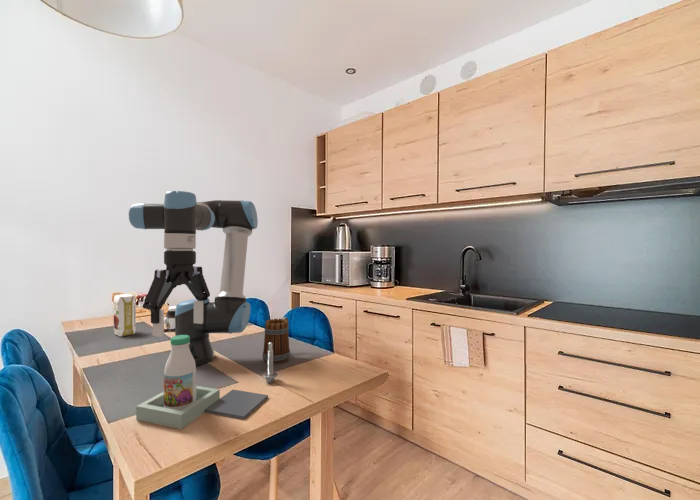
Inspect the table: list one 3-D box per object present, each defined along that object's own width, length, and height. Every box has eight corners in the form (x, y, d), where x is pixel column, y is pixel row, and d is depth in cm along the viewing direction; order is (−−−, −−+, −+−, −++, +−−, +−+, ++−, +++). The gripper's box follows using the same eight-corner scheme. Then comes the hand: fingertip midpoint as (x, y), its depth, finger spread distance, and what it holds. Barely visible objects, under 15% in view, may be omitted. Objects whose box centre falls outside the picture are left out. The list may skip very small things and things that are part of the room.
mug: (283, 365, 118) (283, 325, 117) (257, 362, 120) (257, 323, 119) (298, 351, 133) (299, 315, 133) (275, 349, 135) (275, 314, 135)
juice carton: (130, 330, 160) (130, 293, 160) (137, 333, 155) (137, 295, 154) (112, 334, 154) (112, 295, 153) (119, 337, 149) (118, 297, 148)
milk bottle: (172, 403, 89) (172, 332, 89) (200, 402, 90) (200, 332, 89) (157, 418, 81) (157, 341, 81) (189, 417, 82) (189, 340, 82)
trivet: (204, 412, 85) (204, 409, 85) (232, 392, 96) (232, 389, 96) (243, 419, 82) (243, 416, 82) (267, 397, 93) (267, 395, 93)
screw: (277, 377, 107) (278, 383, 102) (262, 379, 106) (262, 385, 101) (277, 339, 107) (278, 343, 102) (262, 340, 105) (262, 344, 101)
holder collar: (136, 419, 81) (136, 406, 81) (179, 394, 94) (179, 382, 94) (181, 429, 77) (181, 414, 77) (219, 401, 91) (219, 389, 90)
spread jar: (188, 329, 164) (188, 306, 164) (166, 334, 155) (166, 310, 155) (175, 325, 171) (175, 304, 171) (153, 330, 161) (153, 307, 161)
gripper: (150, 250, 72) (150, 344, 72) (222, 249, 96) (222, 319, 96) (124, 250, 74) (124, 341, 74) (202, 249, 98) (201, 318, 98)
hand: (179, 329), depth 85 cm, fingers open, 13 cm apart
